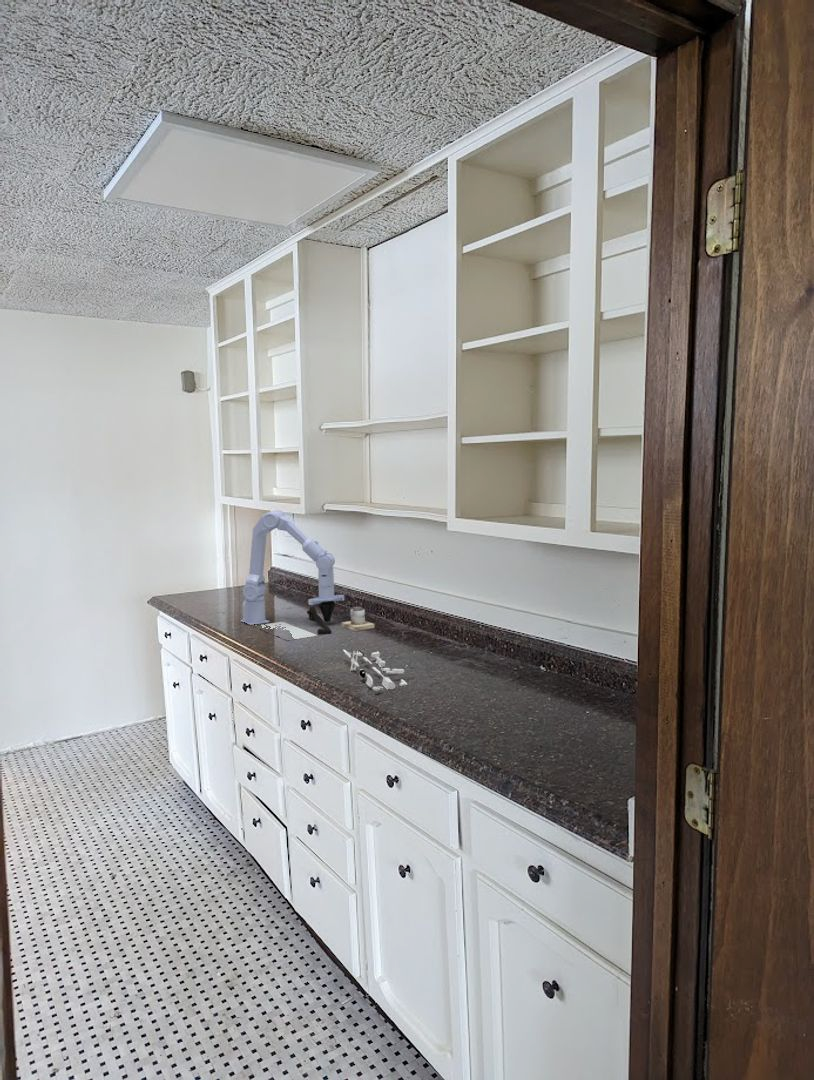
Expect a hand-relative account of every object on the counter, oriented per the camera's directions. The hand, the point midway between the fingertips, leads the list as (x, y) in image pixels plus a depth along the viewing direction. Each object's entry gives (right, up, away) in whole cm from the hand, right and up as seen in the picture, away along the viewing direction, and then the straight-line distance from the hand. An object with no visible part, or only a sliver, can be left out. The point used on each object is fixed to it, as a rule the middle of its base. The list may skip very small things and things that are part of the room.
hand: (327, 621), depth 267 cm
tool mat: (-14, -2, -10) cm, 18 cm away
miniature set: (+21, -8, -64) cm, 68 cm away
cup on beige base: (+12, -2, -6) cm, 13 cm away
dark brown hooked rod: (-4, -2, -2) cm, 5 cm away
